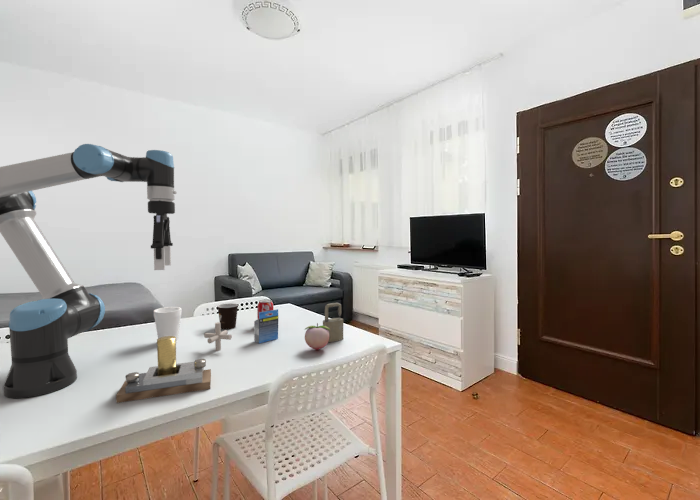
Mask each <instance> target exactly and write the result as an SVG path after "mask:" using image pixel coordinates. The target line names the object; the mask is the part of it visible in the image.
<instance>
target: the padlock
mask: <svg viewBox="0 0 700 500" xmlns="http://www.w3.org/2000/svg"><path fill="white" fill-rule="evenodd" d="M333 307H337V314H338V317H333V318H329V309H330V308H333ZM341 316H342V304H341V303H339V302H332V303H327V304H325V306H324V320H322V326H326V327H328V328H329V329H330V330H329V329H327V330H328V331H329V341H328V343H334V342H339V341H341V340H344V318H341Z"/></svg>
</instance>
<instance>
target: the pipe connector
mask: <svg viewBox="0 0 700 500" xmlns="http://www.w3.org/2000/svg"><path fill="white" fill-rule="evenodd" d="M214 326H215V327H214V332H213V333H212V332H205V333H204V334H203V336H204V338H205V339H207V343H208V344H212V343H214V342H215V345H214V346H215V351H216V352H218V351H221V350H222V340H228V341H229V340H232V334H228V330H224V329H223V331H221V330H222V329H221V325H220V321H217V322H215V323H214Z"/></svg>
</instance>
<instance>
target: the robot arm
mask: <svg viewBox="0 0 700 500" xmlns="http://www.w3.org/2000/svg"><path fill="white" fill-rule="evenodd" d="M98 177H99V178H100V177H105V178H106V179H107V180H108V181H110V182H119V183H125V182H126V183H127V182H131V183H132V182H137V183H138V182H139V183H140V182H142V183H146V195H147V198H146V199H147V200H149V201H147V213H149V214H153V230H152V243H151V245H150V249H153V260H154V261H153V268H154V269H153V270H154V271H165V270H166V266H171V265H172V261H171V258H172V257H171V255H172V254H171V252H172V251H171V247H172V246H174V244H173V242H172V240H171V230H170V229H171V227H170V222H171V221H170V217H169V216H168V215H174V214H175V213H176V207H175V206H176V204H175V202H174V201H175V195H176V194H177V191H176V190H175V164H174V156H173V154H172V153H171V152H168V151H164V150H159V149H151V150H148V149H147V151H146V153H145V156H144V157H138V156H137V157H135V156H133V157H131V156H126V155H124V154H121V153H119V152H115V151H113V150H110V149H107V148H106V147H103V146H101V145H98V144H97V145H96V144H93V143H83V144H80V145H79V146H78V147H77V148H75V149H74V151H73V152H67V153H62V154H57V155H52V156H47V157H41V158H38V159H33V160H28V161H22V162H18V163H12V164H7V165H3V166H0V234H1V236H2V237H3V239H4V240H5V242H6V243H7V245H8V246H9V248H10V250H11V251H12V252H13V254H14V256H15V257H16V259H17V260H18V262H19V264H21V266H22V267H23V269H24V271H25V272H26V274H27V275H28V277H29V279H30V280H31V281H32V283H33V285H35V287H36V289H37V290H38V292H39V293H40V295H41V297H42V299H38V300H35V301H34V300H33V301H29V302H24V303H23V304H20V305H17V306H16V307H14V308H12V309H11V311H10V313H9V321H8V328H9V329H8V330H9V339H10V341H9V342H10V355H11V365H10V368H9V371H8V373H7V377H6V379H5V382H4V384H3V395H4V397H6V398H9V399H10V398H11V399H23V398H25V399H26V398H32V397H38V396H42V395H46V394H50V393H53V392H56V391H58V390H62V389H63V388H64V389H65V388H67V387H68V386H70V385H72V384H73V383H75V382H76V380H77V379H78V373H77V372H78V371H77V368H76V366H75V364H74V363H73V359H71V356H70V354H69V342H68V341H69V340H68V339H70V338H72V337H75V336H77V335H80V334H82V333H85V332H88V331H89V330H91V329H93V328H94V327H96V326H98V325H99V324H100V323H101V322H102V320H103V319H104V316H105V313H106V306H105V303H104V301H103V300H102V299H101V297H100V296H99V295H96V294H93V293H90V292H88V291H87V289H86V287H85V286H84V285H82V284H79V283H75V282H74V280H73V278H72V277H71V274H70V273H69V272H68V270H67V269H66V267H65V266H64V264H63V263H62V261H61V260H60V258H59V256H58V255H57V253H56V251H55V250H54V249H53V247H52V245H51V244H50V242H49V241H48V239H47V238H46V236H45V235H44V233H43V232H42V229H40V227H39V226H38V224H37V222H36V221H35V217H36V216H37V211H36V207H37V205H36V204H37V197H36V196H35V194H34V192H33V191H38V190H41V189H48V188H51V187H55V186H61V185H65V184H69V183H70V184H71V183H75V182H79V181H83V180H84V181H85V180H90V179H93V178H98ZM154 214H155V215H154Z"/></svg>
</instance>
